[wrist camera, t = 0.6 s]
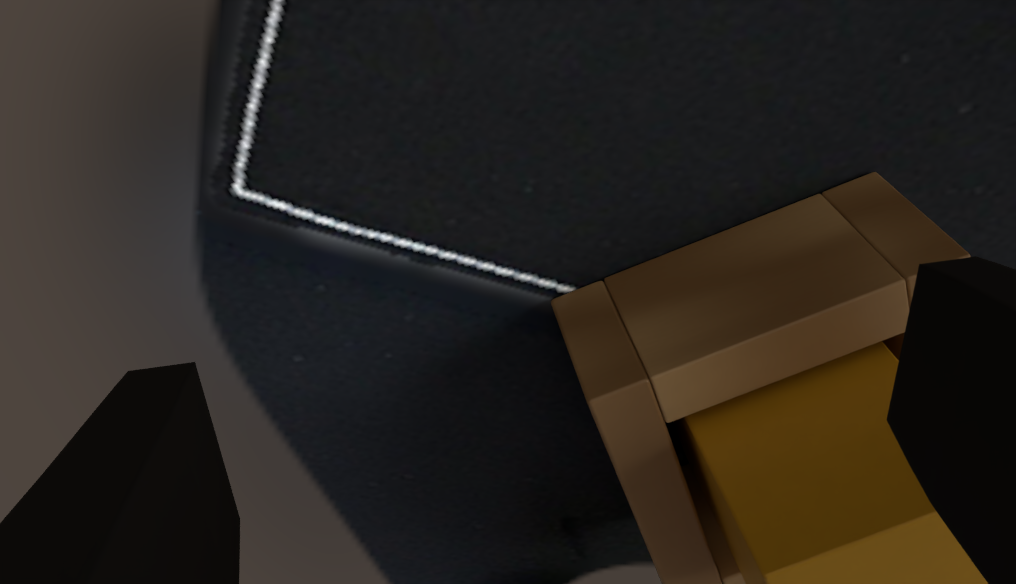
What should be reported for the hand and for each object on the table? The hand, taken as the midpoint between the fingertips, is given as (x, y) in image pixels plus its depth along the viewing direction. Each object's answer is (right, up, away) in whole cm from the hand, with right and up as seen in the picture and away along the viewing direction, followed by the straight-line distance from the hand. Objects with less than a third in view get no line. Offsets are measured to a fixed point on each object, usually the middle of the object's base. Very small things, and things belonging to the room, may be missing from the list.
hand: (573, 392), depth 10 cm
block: (+5, -1, +12) cm, 13 cm away
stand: (+5, -1, +12) cm, 13 cm away
